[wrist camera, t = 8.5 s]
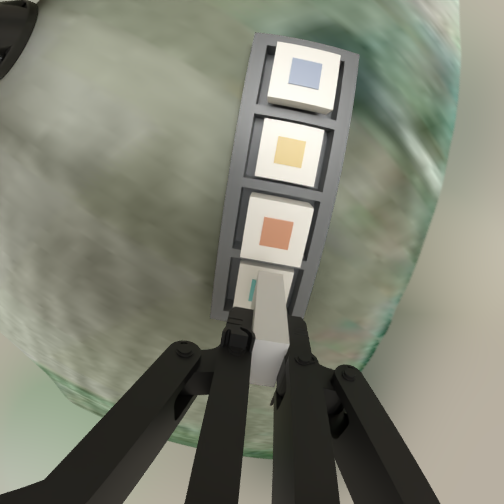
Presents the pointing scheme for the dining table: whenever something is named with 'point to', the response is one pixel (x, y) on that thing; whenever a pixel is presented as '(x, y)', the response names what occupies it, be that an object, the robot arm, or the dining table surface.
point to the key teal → (249, 277)
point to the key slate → (304, 78)
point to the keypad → (246, 182)
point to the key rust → (276, 229)
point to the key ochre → (289, 152)
